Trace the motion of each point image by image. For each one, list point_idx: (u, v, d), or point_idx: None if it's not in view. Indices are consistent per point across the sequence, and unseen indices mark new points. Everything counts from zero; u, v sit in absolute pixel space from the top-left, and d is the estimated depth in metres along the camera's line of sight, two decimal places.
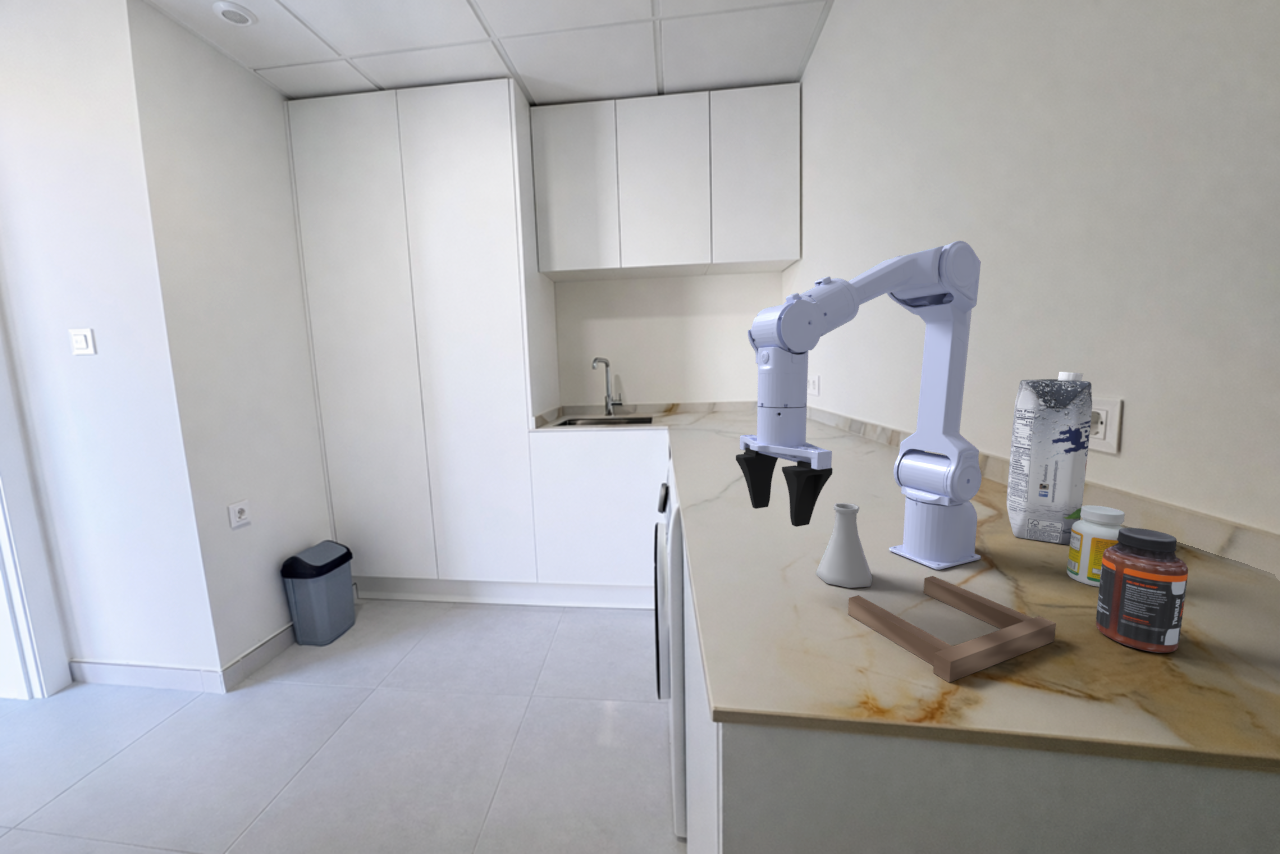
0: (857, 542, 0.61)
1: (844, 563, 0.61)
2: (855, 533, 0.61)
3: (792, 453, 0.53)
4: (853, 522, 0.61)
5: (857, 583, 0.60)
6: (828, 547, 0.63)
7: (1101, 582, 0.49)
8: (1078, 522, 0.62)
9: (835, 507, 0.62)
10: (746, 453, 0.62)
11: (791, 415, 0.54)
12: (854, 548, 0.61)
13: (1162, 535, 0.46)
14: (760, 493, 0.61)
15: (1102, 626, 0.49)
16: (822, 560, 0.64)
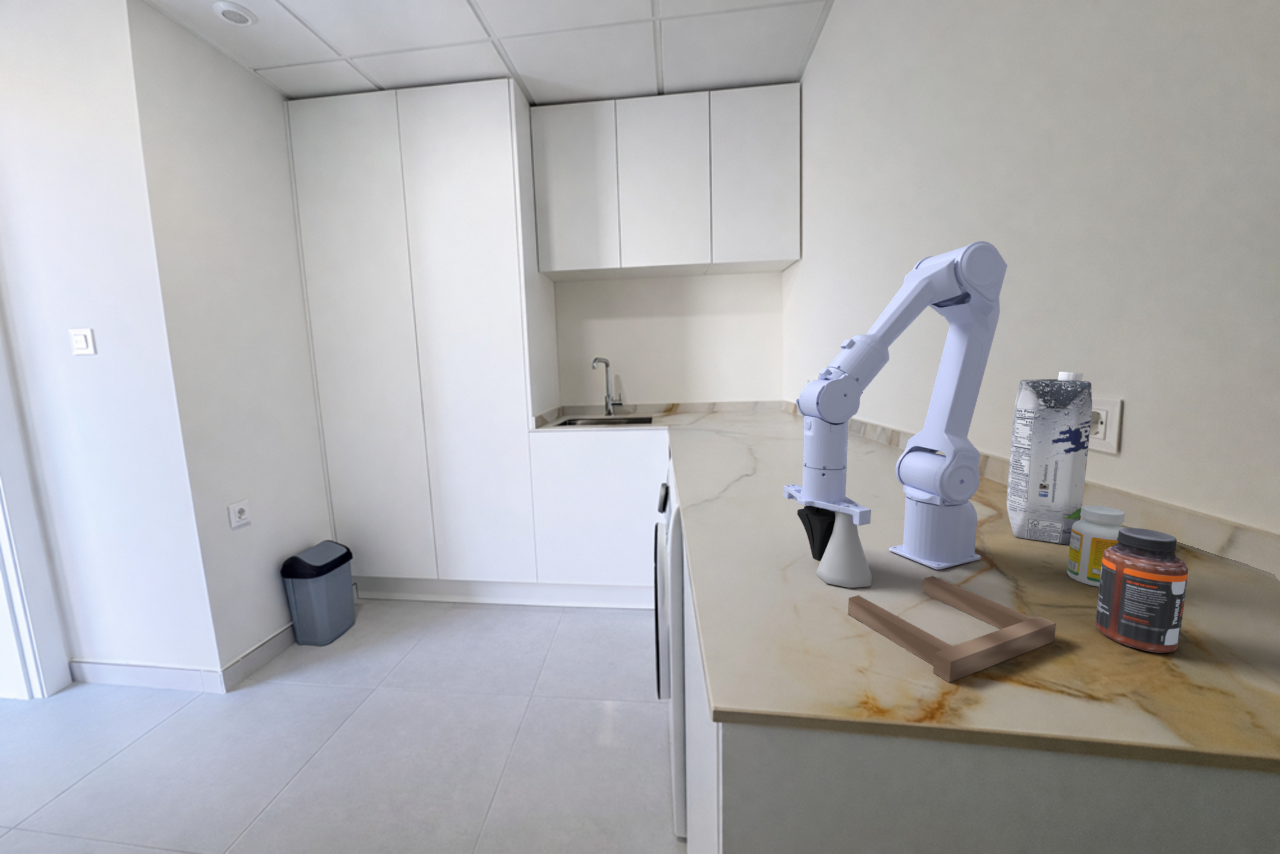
0: (857, 542, 0.61)
1: (844, 563, 0.61)
2: (855, 533, 0.61)
3: (836, 509, 0.62)
4: None
5: (857, 583, 0.60)
6: (828, 547, 0.63)
7: (1101, 582, 0.49)
8: (1078, 522, 0.62)
9: None
10: (806, 508, 0.68)
11: (834, 476, 0.63)
12: (854, 548, 0.61)
13: (1162, 535, 0.46)
14: None
15: (1102, 626, 0.49)
16: (822, 560, 0.64)
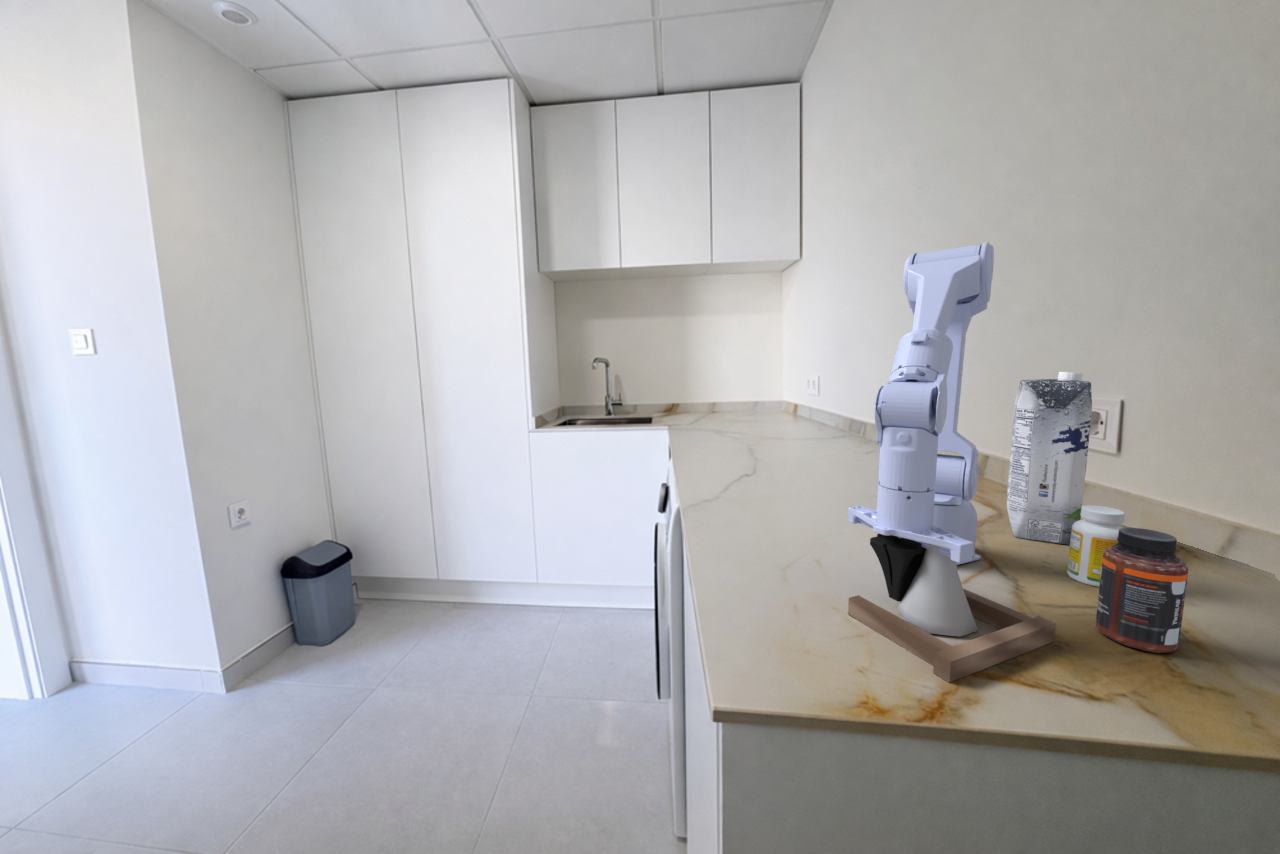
0: (958, 578, 0.50)
1: (948, 607, 0.50)
2: (956, 567, 0.50)
3: (926, 541, 0.50)
4: None
5: (965, 629, 0.49)
6: (921, 587, 0.51)
7: (1101, 582, 0.49)
8: (1078, 522, 0.62)
9: None
10: (881, 536, 0.56)
11: (922, 499, 0.51)
12: (957, 586, 0.50)
13: (1162, 535, 0.46)
14: None
15: (1102, 626, 0.49)
16: (914, 603, 0.52)
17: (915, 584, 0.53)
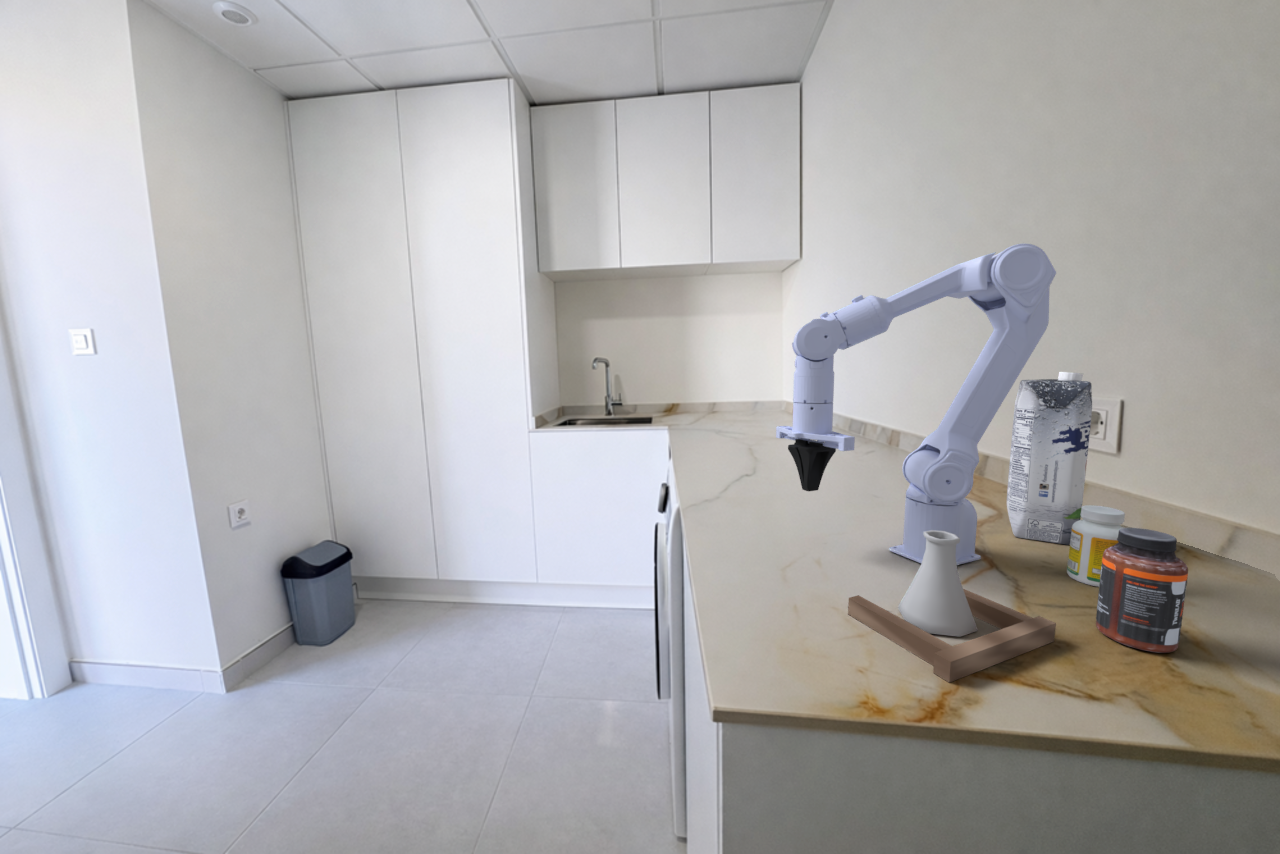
0: (958, 578, 0.50)
1: (948, 607, 0.50)
2: (956, 567, 0.50)
3: (823, 439, 0.67)
4: (953, 555, 0.51)
5: (965, 629, 0.49)
6: (921, 587, 0.51)
7: (1101, 582, 0.49)
8: (1078, 522, 0.62)
9: (931, 537, 0.51)
10: (796, 443, 0.73)
11: (821, 409, 0.68)
12: (957, 586, 0.50)
13: (1162, 535, 0.46)
14: None
15: (1102, 626, 0.49)
16: (914, 603, 0.52)
17: (915, 584, 0.53)
